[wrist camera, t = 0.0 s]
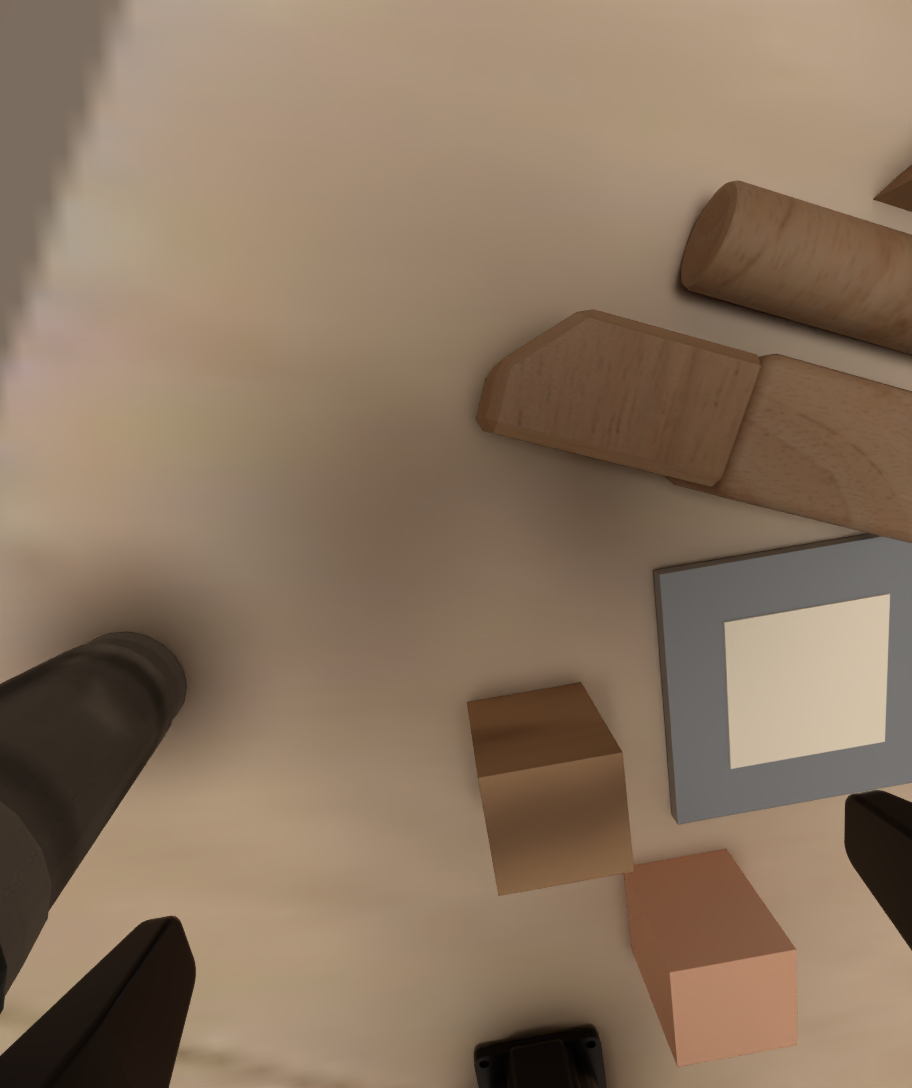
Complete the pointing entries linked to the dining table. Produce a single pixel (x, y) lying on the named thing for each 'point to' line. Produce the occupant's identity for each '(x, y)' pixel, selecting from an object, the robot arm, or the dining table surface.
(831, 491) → the wooden block set
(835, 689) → the grey flat plate
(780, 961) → the terracotta block
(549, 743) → the walnut block
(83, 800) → the beverage cup
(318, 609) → the dining table surface
